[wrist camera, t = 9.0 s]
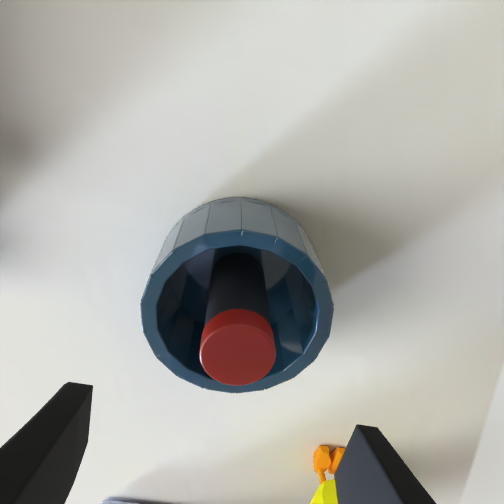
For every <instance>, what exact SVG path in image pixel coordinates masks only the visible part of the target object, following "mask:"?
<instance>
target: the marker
mask: <svg viewBox="0 0 504 504" xmlns="http://www.w3.org/2000/svg"><path fill="white" fill-rule="evenodd" d="M199 354H200V362H201V364H202V366H203V368H204V370H205V371H206V373H207V374H208V375H209V376H211V377H212V378H213V379H215V380H216V381H218V382H221V383H224V384H227V385H235V386H240V385H247V384H251V383H254V382H256V381H258V380H260V379H261V378H263V377H264V376H265V375H266V374H267V373H268V372H269V371H270V370H271V368H272V366H273V364H274V362H275V358H276V350H275V343H274V335H273V331H272V329H271V324H270V316H269V308H268V301H267V293H266V285H265V278H264V271H263V268H262V266H261V265H260V263H259V262H258V261H257V260H256V259H255V258H253V257H251V256H249V255H247V254H243V253H232V254H229V255H226V256H224V257H222V258H221V259H219V260H218V261H217V262H216V264H215V265H214V267H213V269H212V272H211V280H210V288H209V295H208V303H207V311H206V319H205V326H204V330H203V333H202V338H201V346H200V353H199Z"/></svg>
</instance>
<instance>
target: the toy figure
mask: <svg viewBox="0 0 504 504" xmlns="http://www.w3.org/2000/svg"><path fill="white" fill-rule="evenodd" d="M344 452H345V448H340V447H337V448H336V449H335V450H334V451H333V452H332V453H331V455H330V453H329V448H328V446H322V445H320V446H319V447H318V449H317V450H316V451H315V453H314V471H315V472H317V473H318V476H319V481H320V486H319V487H318V488H317V490H316V492H315V494H314V497H313V499H312V501H311V503H310V504H338V501H337V494H336V485H335V479H333V480H328V481H326V478H325V474H324V471H326V470H327V469H328V472H329V473H331V474H335V471H336V469H337V467H338V465H339V463H340V460H341V458H342V456H343V454H344ZM334 477H335V476H334Z"/></svg>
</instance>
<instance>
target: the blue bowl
mask: <svg viewBox="0 0 504 504" xmlns="http://www.w3.org/2000/svg"><path fill="white" fill-rule="evenodd" d="M232 253H243V254H247V255H249V256H251V257H253V258H255V259H256V260H257V261H258V262H259V263H260V265H261V266H262V268H263V271H264V278H265V285H266V293H267V301H268V308H269V316H270V324H271V329H272V331H273V335H274V343H275V350H276V358H275V362H274V364H273V366H272V368H271V370H270V371H269V372H268V373H267V374H266V375H265V376H264V377H263V378H261V379H260V380H258V381H256V382H254V383H251V384H247V385H240V386H235V385H227V384H224V383H221V382H218V381H216V380H215V379H213V378H212V377H211V376H209V375H208V374H207V373H206V371H205V370H204V368H203V366H202V364H201V362H200V354H199V353H200V346H201V338H202V333H203V330H204V326H205V319H206V311H207V303H208V295H209V288H210V280H211V272H212V269H213V267H214V265H215V264H216V262H217V261H218V260H219V259H221V258H222V257H224V256H226V255H229V254H232ZM140 305H141V319H142V330H143V333H144V335H145V337H146V339H147V341H148V343H149V345H150V347H151V349H152V350H153V352H154V354H155V356H156V357H157V359H158V360H160V361H161V362H162V363H163V364H164V365H165V366H166V367H167V368H168V369H169V370H171V371H172V372H173V373H174V374H175V375H176V376H178V377H179V378H182V379H184V380H186V381H188V382H190V383H193V384H195V385H197V386H199V387H201V388H205V389H208V390H215V391H221V392H228V393H243V392H252V391H260V390H264V389H268V388H271V387H273V386H276V385H278V384H280V383H283V382H285V381H288V380H290V379H292V378H294V377H295V376H296V375H298V374H299V373H300V372H301V371H302V370H304V369H305V368H306V367H307V366H308V365H310V364H311V363H312V362H313V361H314V360H315V359H316V358H317V356H318V354H319V353H320V351H321V349H322V348H323V346H324V344H325V343H326V341H327V339H328V338H329V335H330V330H331V324H332V318H333V311H334V304H333V301H332V297H331V293H330V289H329V285H328V281H327V279H326V276H325V274H324V272H323V269H322V267H321V265H320V262H319V260H318V258H317V255H316V253H315V251H314V248H313V246H312V244H311V242H310V241H309V239H308V238H307V236H306V234H305V232H304V231H303V229H302V228H301V227H300V225H299V224H298V223H297V222H296V221H295V220H294V219H293V218H292V217H291V216H289V215H288V214H287V213H285V212H284V211H282V210H281V209H279V208H277V207H276V206H273V205H271V204H269V203H266V202H263V201H259V200H256V199H249V198H225V199H219V200H215V201H211V202H209V203H206V204H204V205H201V206H199V207H198V208H196V209H194V210H192V211H191V212H189V213H188V214H187V215H185V216H184V217H183V218H182V219H181V220H180V221H179V222H178V223H177V224H176V225H175V226H174V228H173V229H172V230H171V231H170V233H169V235H168V236H167V238H166V240H165V241H164V244H163V246H162V248H161V251H160V253H159V255H158V258H157V260H156V262H155V265H154V267H153V269H152V272H151V274H150V276H149V279H148V282H147V285H146V288H145V290H144V293H143V296H142V299H141V303H140Z"/></svg>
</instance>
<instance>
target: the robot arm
mask: <svg viewBox="0 0 504 504" xmlns="http://www.w3.org/2000/svg"><path fill="white" fill-rule="evenodd" d="M92 390H93V385H86V384H79V383H72V382H68V383H66V384H64V385H63V386H62V387H61V388H60V390H59V391H58V392H57V393H56V394H55V395H54V396H53V397H52V398H51V399H50V400H49V401H48V402H47V403H46V404H45V405H44V406H43V407H42V408H41V409H40V411H39V412H38V413H36V414H35V415H34V416H33V417H32V418H31V419H30V420H29V421H28V422H27V423H26V424H25V425H24V426H23V427H22V428H21V429H20V430H19V431H18V432H17V433H16V434H15V435H14V436H13V437H11V438H10V439H9V440H8V441H7V442H6V443H5V444H4V445H3V446H2V447H1V448H0V504H64V503H65V501H66V499H67V497H68V495H69V492H70V490H71V488H72V486H73V484H74V481H75V478H76V475H77V472H78V469H79V467H80V464H81V461H82V458H83V455H84V452H85V449H86V446H87V443H88V435H89V424H90V413H91V402H92ZM334 476H335V485H336V494H337V501H338V504H436V503H435V501H434V500H433V499H432V498H431V496H430V495H429V494H428V493H427V491H426V490H425V489H424V488H423V486H422V485H421V484H420V482H419V481H418V480H417V478H416V477H415V476H414V475H413V473H412V472H411V471H410V469H409V468H408V467H407V465H406V464H405V463H404V461H403V460H402V459H401V458H400V456H399V455H398V454H397V452H396V451H395V450H394V448H393V447H392V446H391V444H390V443H389V442H388V440H387V439H386V438H385V437H384V435H383V434H382V433H381V431H380V430H379V429H378V428H377V427H371V426H364V425H356V427H355V429H354V432H353V434H352V436H351V438H350V440H349V443H348V445H347V447H346V449H345V452H344V454H343V456H342V458H341V460H340V463H339V465H338V467H337V469H336V471H335V474H334ZM100 504H138V503H129V502H120V501H112V500H105V501H102V502H101V503H100Z"/></svg>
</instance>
